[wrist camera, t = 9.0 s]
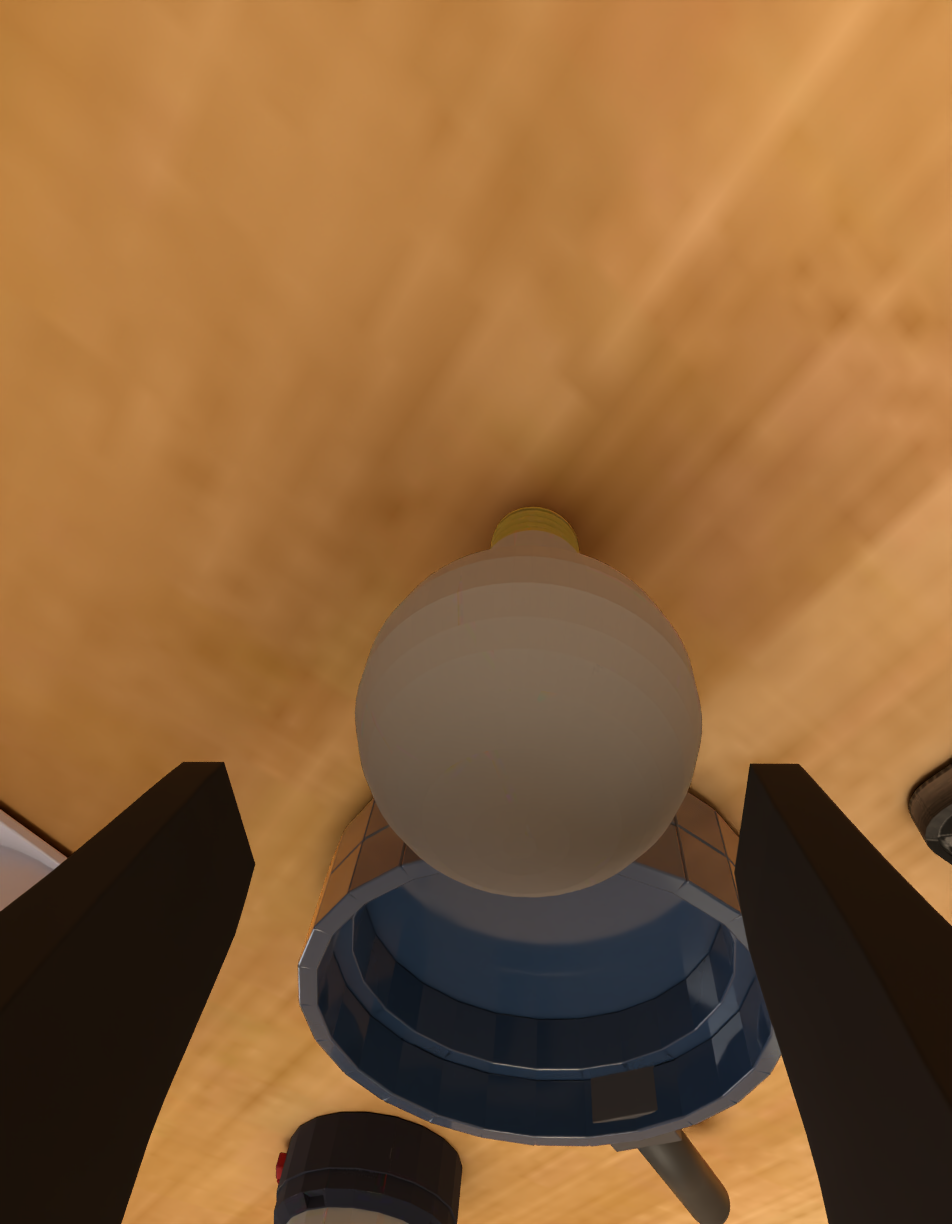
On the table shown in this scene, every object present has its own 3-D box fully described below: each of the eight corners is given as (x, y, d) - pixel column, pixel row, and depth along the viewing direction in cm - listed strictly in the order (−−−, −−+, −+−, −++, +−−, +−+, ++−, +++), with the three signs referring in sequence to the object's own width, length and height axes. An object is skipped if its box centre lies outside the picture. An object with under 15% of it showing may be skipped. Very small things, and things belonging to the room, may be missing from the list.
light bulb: (523, 374, 16) (494, 585, 8) (694, 525, 18) (829, 845, 9) (382, 543, 19) (239, 847, 10) (542, 664, 20) (537, 1022, 12)
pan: (503, 1068, 30) (497, 1182, 27) (246, 863, 25) (198, 971, 22) (837, 948, 25) (883, 1071, 21) (594, 660, 20) (602, 759, 17)
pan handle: (589, 1074, 26) (592, 1123, 25) (654, 1060, 26) (659, 1110, 24) (682, 1190, 30) (689, 1239, 28) (741, 1181, 29) (750, 1231, 28)
